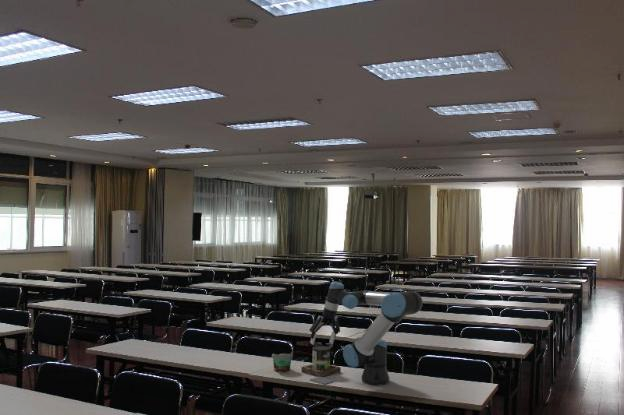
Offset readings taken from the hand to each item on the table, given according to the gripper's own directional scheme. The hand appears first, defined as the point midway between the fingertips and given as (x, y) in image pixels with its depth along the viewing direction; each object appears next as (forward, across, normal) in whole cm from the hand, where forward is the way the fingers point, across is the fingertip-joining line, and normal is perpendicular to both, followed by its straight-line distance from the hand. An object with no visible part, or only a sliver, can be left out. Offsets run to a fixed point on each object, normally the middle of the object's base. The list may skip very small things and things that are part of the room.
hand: (321, 343), depth 336 cm
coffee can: (+18, -5, +1) cm, 19 cm away
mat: (+15, +5, +15) cm, 22 cm away
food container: (+23, +12, -12) cm, 29 cm away
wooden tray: (+18, -5, +1) cm, 18 cm away
